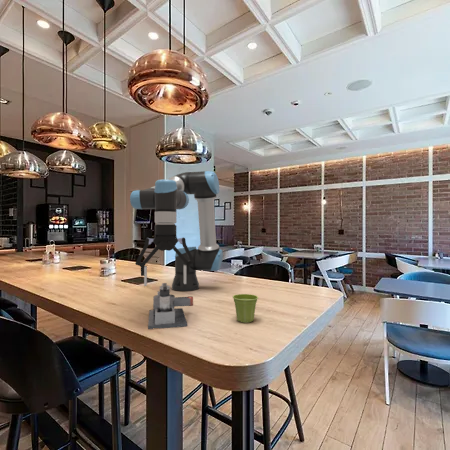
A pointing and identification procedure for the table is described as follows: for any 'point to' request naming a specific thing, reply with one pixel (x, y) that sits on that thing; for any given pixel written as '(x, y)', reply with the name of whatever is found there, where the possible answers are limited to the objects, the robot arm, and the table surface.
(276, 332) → the table surface
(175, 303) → the grey machine part
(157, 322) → the base
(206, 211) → the robot arm
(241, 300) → the plant pot
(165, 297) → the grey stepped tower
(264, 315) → the table surface
